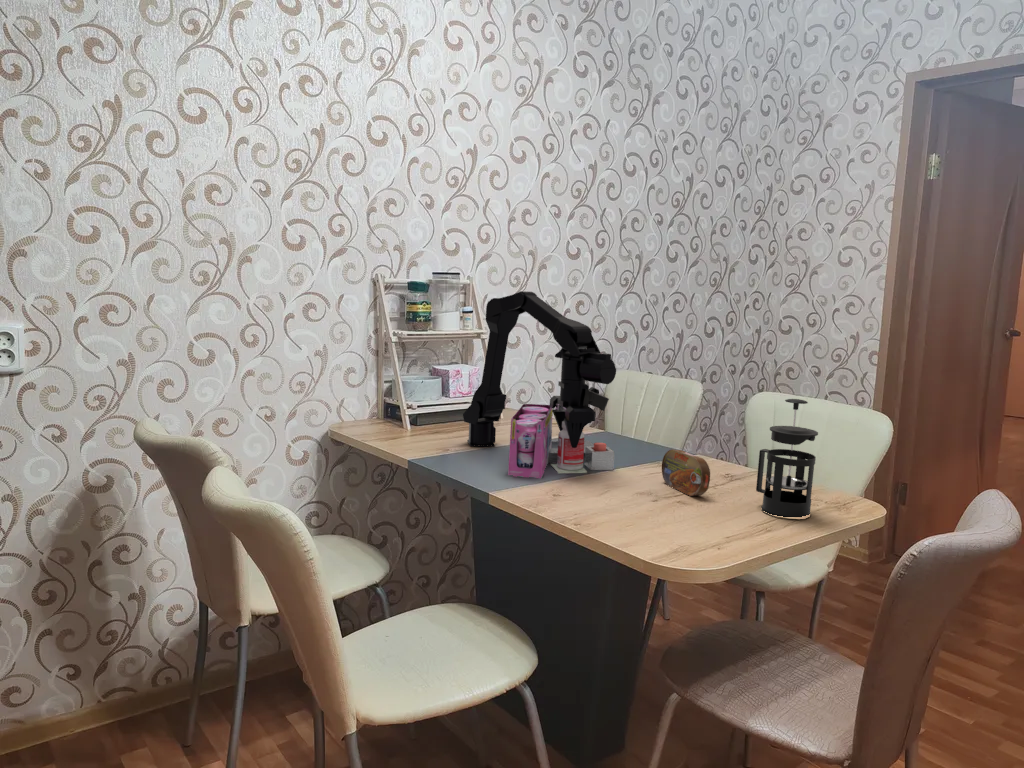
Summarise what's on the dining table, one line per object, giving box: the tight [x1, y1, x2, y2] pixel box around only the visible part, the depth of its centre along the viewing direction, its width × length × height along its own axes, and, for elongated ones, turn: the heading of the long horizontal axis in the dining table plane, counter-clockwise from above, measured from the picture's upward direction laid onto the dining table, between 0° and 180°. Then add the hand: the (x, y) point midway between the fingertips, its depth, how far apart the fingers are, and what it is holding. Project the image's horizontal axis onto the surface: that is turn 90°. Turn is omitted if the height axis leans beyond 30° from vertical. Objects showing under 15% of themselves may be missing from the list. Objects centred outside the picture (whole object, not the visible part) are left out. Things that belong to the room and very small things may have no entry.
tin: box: [661, 449, 711, 497], centre depth 156 cm, size 15×3×8 cm, turn 21°
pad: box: [550, 463, 588, 474], centre depth 171 cm, size 7×7×1 cm
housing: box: [584, 445, 615, 471], centre depth 173 cm, size 6×6×4 cm
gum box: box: [507, 403, 553, 479], centre depth 172 cm, size 24×8×14 cm, turn 171°
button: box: [593, 442, 607, 451], centre depth 173 cm, size 3×3×3 cm
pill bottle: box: [556, 421, 585, 470], centre depth 170 cm, size 6×6×11 cm
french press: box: [755, 398, 819, 517], centre depth 143 cm, size 12×9×23 cm
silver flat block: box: [548, 440, 594, 464], centre depth 183 cm, size 16×13×2 cm
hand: (569, 443), depth 170 cm, fingers open, 7 cm apart
